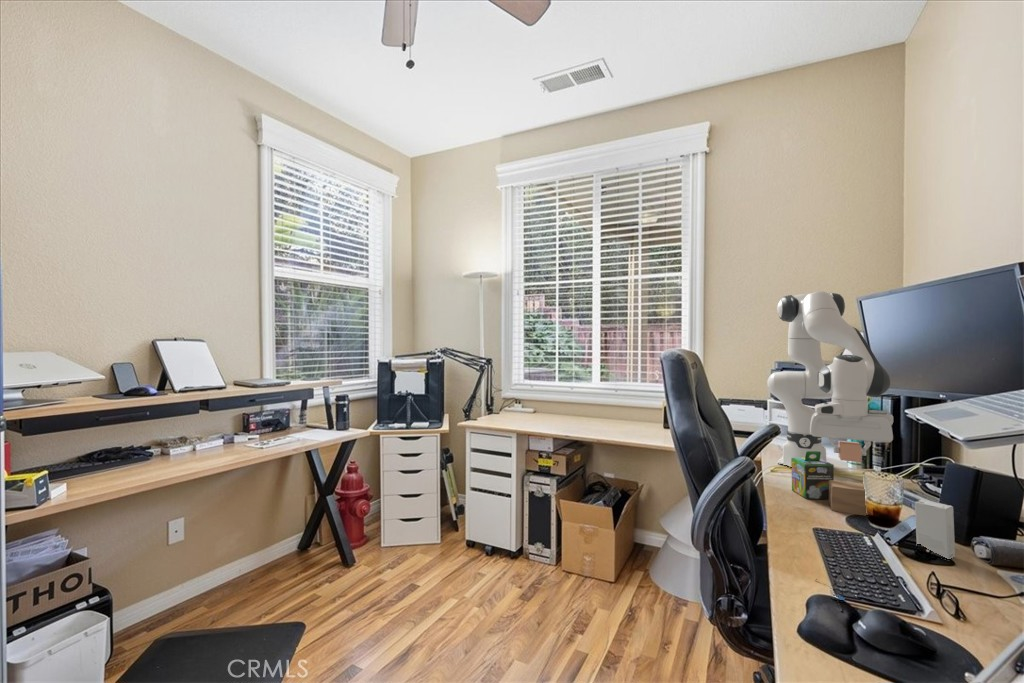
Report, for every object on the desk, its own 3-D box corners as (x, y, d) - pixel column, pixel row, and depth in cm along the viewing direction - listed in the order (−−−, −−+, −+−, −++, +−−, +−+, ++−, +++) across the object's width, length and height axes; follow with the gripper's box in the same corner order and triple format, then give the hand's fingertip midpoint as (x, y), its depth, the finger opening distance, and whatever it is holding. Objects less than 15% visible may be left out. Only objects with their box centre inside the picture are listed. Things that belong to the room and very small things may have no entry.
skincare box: (955, 557, 106) (955, 505, 107) (948, 561, 104) (948, 509, 104) (922, 546, 112) (922, 498, 112) (914, 551, 110) (914, 501, 110)
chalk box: (818, 490, 154) (818, 447, 154) (835, 500, 145) (835, 454, 145) (790, 490, 155) (790, 447, 155) (805, 499, 146) (804, 453, 146)
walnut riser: (828, 502, 143) (828, 479, 143) (868, 508, 138) (868, 484, 138) (831, 510, 136) (831, 486, 136) (873, 516, 131) (873, 491, 131)
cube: (838, 456, 141) (838, 440, 141) (858, 458, 138) (858, 442, 138) (840, 460, 136) (840, 443, 136) (861, 462, 134) (861, 445, 134)
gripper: (890, 409, 135) (890, 455, 135) (809, 405, 145) (809, 447, 145) (895, 412, 129) (896, 460, 129) (810, 407, 140) (810, 452, 139)
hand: (849, 453), depth 137 cm, fingers closed on cube, 5 cm apart
